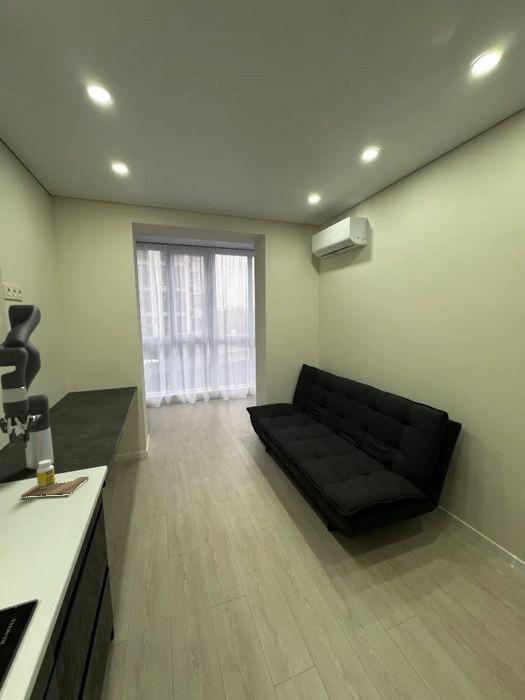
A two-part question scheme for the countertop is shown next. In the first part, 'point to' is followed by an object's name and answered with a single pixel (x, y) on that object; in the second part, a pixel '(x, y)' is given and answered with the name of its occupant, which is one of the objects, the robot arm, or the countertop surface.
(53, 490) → the walnut board
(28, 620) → the countertop surface
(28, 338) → the robot arm
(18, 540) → the countertop surface
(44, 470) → the supplement bottle
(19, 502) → the countertop surface
